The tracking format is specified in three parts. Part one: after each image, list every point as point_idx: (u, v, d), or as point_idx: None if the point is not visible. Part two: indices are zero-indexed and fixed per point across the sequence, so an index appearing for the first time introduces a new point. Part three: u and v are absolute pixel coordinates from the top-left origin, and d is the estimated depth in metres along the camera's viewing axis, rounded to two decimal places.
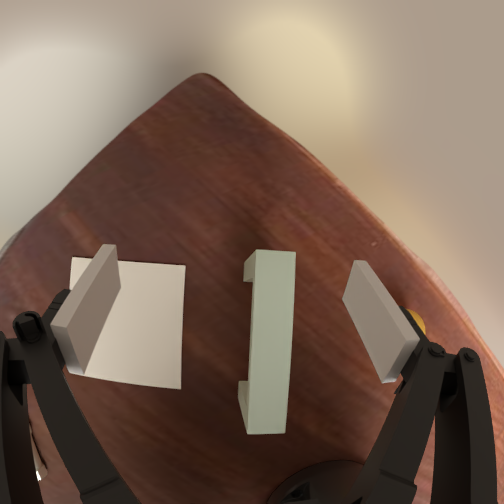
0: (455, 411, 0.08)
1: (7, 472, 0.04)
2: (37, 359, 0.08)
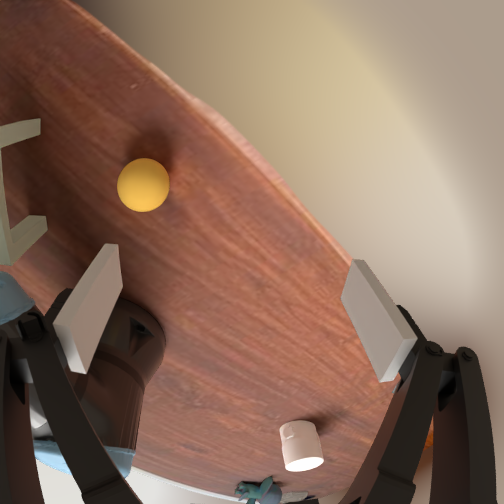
0: (453, 410, 0.08)
1: (8, 471, 0.04)
2: (40, 358, 0.08)
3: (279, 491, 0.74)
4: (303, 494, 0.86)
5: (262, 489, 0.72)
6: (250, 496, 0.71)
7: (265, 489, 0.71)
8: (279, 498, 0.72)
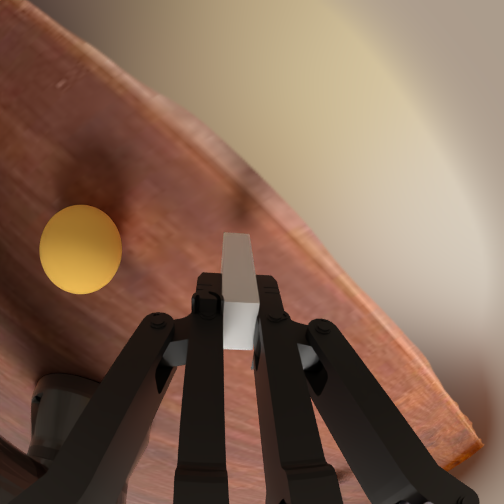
0: (335, 395, 0.09)
1: (105, 455, 0.06)
2: (203, 336, 0.10)
3: None
4: None
5: None
6: None
7: None
8: None
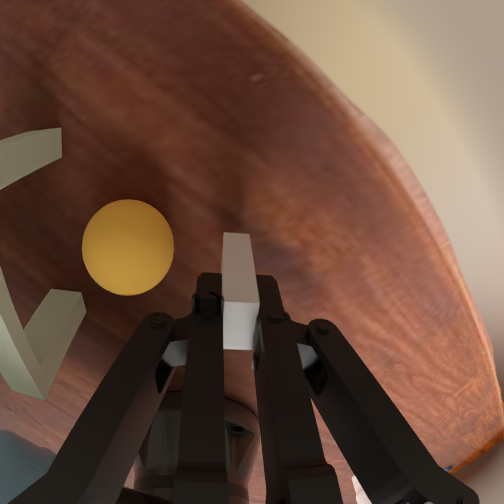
0: (335, 395, 0.09)
1: (105, 455, 0.06)
2: (203, 336, 0.10)
3: None
4: None
5: None
6: None
7: None
8: None
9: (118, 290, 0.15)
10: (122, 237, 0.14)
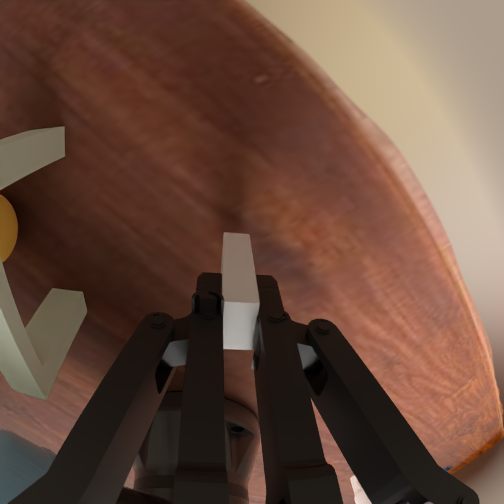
0: (335, 395, 0.09)
1: (105, 455, 0.06)
2: (203, 336, 0.10)
3: None
4: None
5: None
6: None
7: None
8: None
9: (15, 243, 0.17)
10: (7, 202, 0.16)
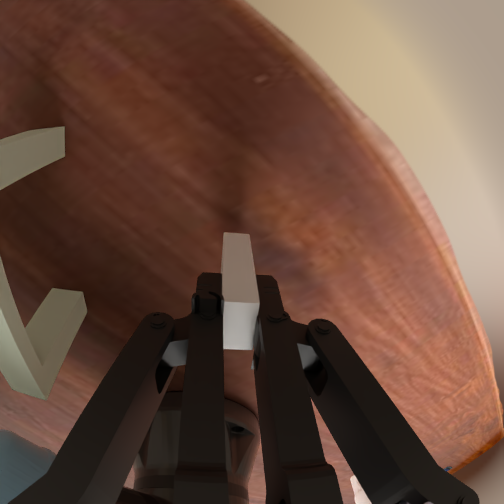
0: (335, 395, 0.09)
1: (105, 455, 0.06)
2: (203, 336, 0.10)
3: None
4: None
5: None
6: None
7: None
8: None
9: None
10: None
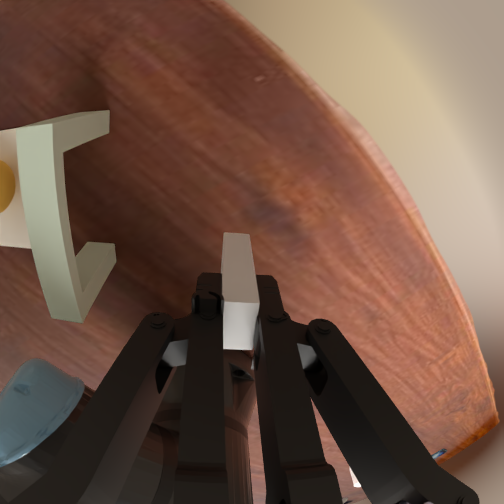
0: (335, 395, 0.09)
1: (105, 455, 0.06)
2: (203, 336, 0.10)
3: None
4: (343, 500, 0.82)
5: None
6: None
7: None
8: None
9: None
10: None
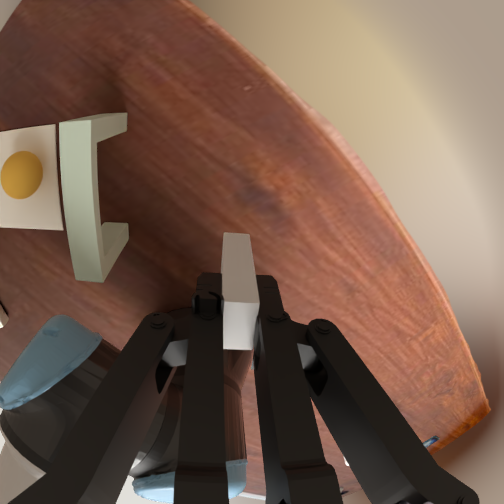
0: (335, 395, 0.09)
1: (105, 455, 0.06)
2: (203, 336, 0.10)
3: None
4: None
5: None
6: None
7: None
8: None
9: (7, 192, 0.25)
10: (8, 165, 0.23)
